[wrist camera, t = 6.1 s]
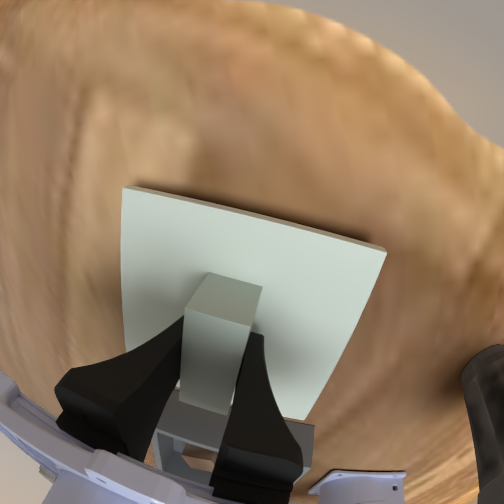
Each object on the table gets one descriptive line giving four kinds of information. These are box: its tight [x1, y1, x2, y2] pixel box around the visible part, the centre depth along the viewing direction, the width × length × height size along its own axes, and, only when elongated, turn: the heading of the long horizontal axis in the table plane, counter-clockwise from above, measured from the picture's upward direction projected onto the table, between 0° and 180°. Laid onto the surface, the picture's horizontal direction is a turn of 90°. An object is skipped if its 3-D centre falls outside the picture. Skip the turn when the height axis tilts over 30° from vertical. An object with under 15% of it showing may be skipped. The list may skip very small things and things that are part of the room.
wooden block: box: [181, 443, 218, 472], centre depth 23 cm, size 3×3×2 cm
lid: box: [121, 185, 387, 420], centre depth 14 cm, size 12×12×4 cm
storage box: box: [151, 390, 314, 486], centre depth 21 cm, size 12×12×4 cm
